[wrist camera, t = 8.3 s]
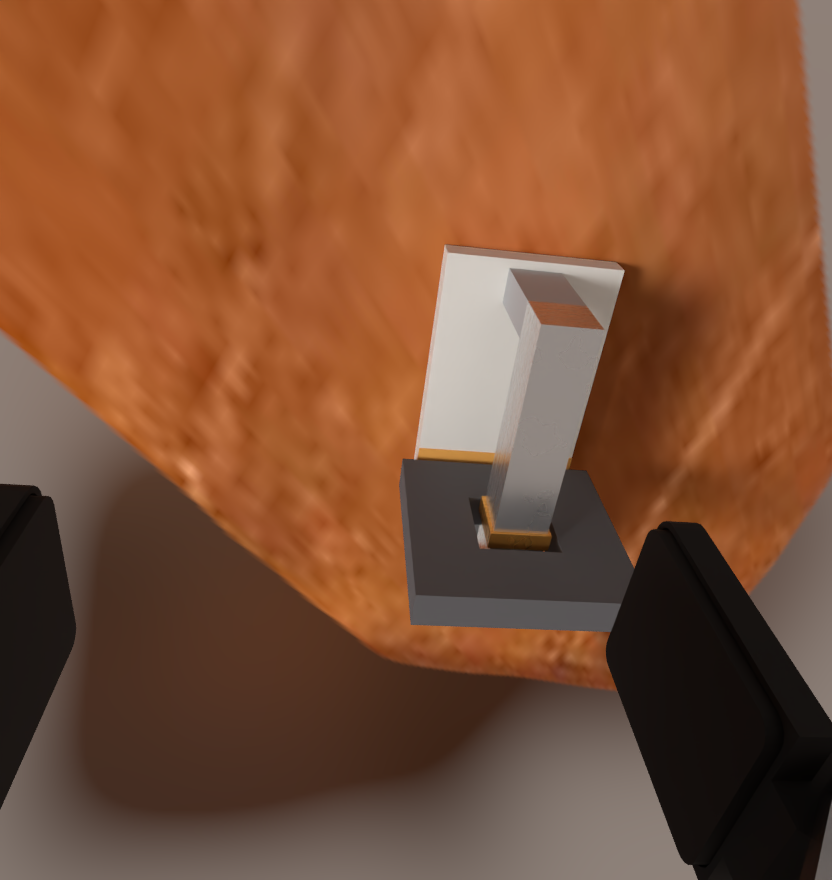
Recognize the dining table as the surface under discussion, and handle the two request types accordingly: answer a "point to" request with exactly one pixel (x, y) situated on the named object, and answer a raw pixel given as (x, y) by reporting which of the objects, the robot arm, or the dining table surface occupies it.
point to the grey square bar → (538, 425)
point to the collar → (507, 556)
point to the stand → (494, 340)
